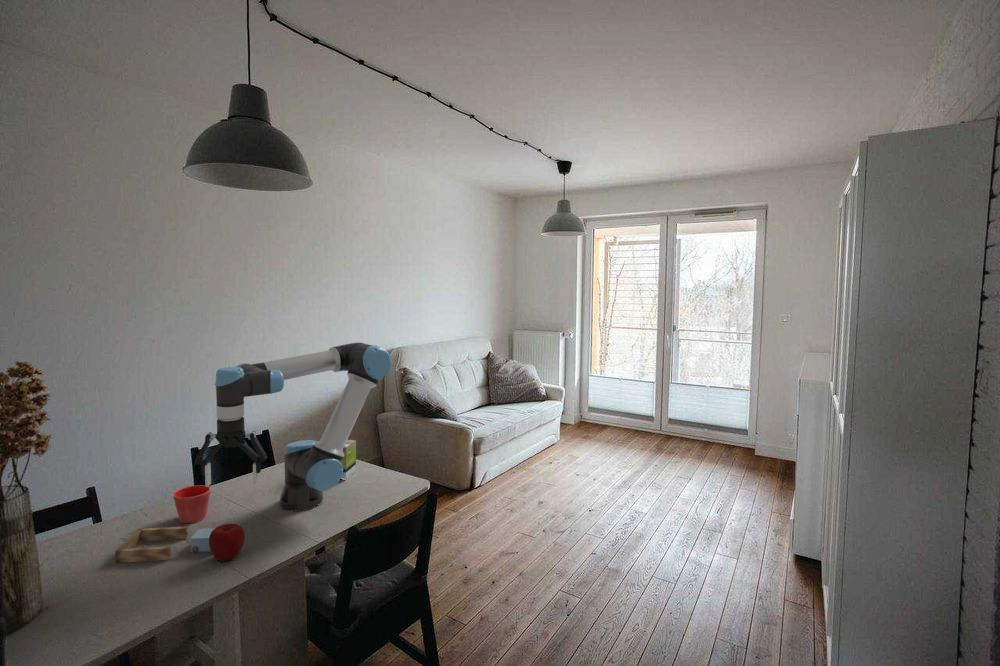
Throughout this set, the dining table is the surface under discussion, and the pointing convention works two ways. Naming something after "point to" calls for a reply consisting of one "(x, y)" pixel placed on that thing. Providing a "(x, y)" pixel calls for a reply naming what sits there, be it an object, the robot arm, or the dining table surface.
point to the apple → (226, 541)
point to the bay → (133, 554)
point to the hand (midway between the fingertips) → (232, 483)
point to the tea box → (349, 458)
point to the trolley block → (201, 540)
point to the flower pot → (192, 503)
